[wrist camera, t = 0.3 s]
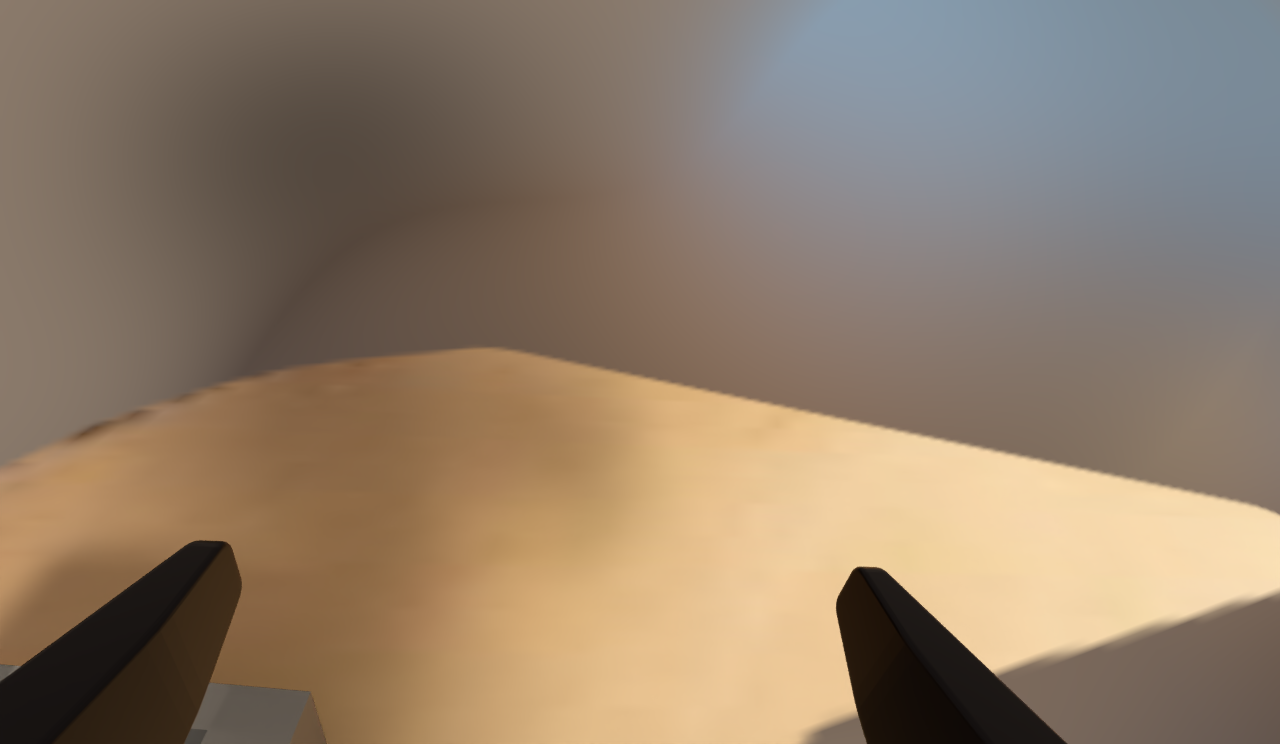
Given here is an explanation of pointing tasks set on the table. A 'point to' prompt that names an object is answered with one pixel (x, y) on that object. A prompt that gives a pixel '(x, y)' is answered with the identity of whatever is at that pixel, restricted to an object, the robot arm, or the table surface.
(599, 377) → the table surface
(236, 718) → the socket block
